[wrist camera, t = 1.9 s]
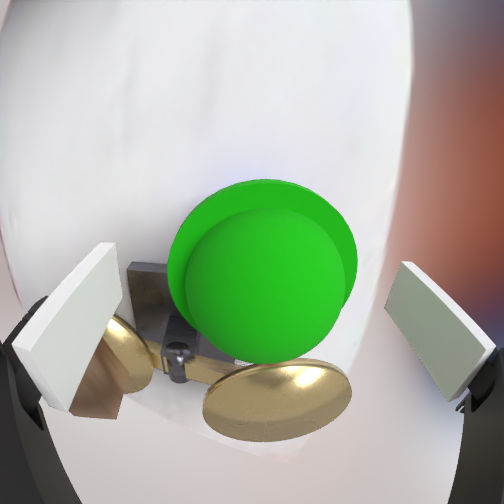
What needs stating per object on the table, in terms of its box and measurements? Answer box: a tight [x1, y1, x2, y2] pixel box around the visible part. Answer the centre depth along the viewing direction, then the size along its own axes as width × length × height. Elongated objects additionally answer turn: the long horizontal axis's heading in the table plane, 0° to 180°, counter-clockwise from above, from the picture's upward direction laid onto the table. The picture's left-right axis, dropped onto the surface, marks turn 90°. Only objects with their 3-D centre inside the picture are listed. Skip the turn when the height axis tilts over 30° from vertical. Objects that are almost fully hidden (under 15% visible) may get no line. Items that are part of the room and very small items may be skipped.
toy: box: [167, 179, 358, 364], centre depth 15 cm, size 8×8×15 cm
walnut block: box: [68, 337, 130, 419], centre depth 17 cm, size 5×5×5 cm
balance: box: [102, 262, 352, 442], centre depth 21 cm, size 12×26×11 cm, turn 84°
